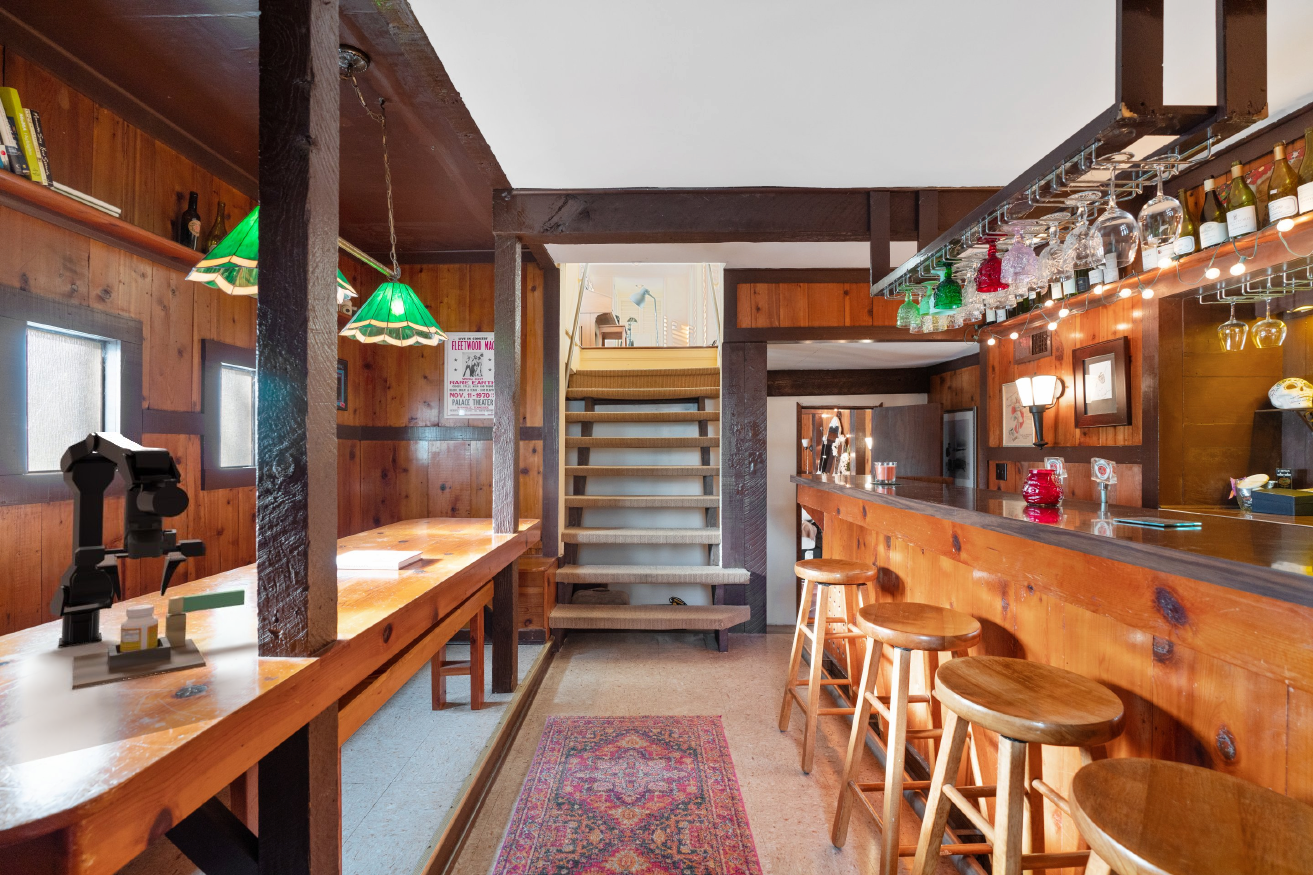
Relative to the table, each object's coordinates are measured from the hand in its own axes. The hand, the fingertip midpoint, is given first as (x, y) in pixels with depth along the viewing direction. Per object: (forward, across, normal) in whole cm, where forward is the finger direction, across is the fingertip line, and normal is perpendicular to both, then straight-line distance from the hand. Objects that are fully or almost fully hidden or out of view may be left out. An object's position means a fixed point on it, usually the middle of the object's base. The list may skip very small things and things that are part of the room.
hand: (141, 598), depth 116 cm
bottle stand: (+12, 0, 0) cm, 12 cm away
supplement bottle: (+12, 0, 0) cm, 12 cm away
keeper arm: (+5, +11, +7) cm, 14 cm away
